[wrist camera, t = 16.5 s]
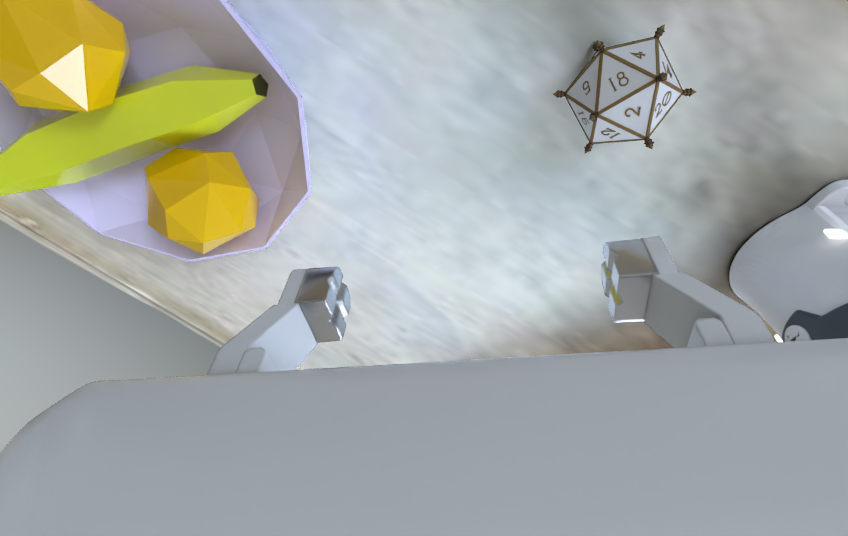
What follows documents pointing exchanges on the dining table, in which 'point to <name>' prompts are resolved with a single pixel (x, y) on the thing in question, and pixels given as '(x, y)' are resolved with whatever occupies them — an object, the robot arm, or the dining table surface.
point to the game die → (624, 91)
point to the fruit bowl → (152, 122)
